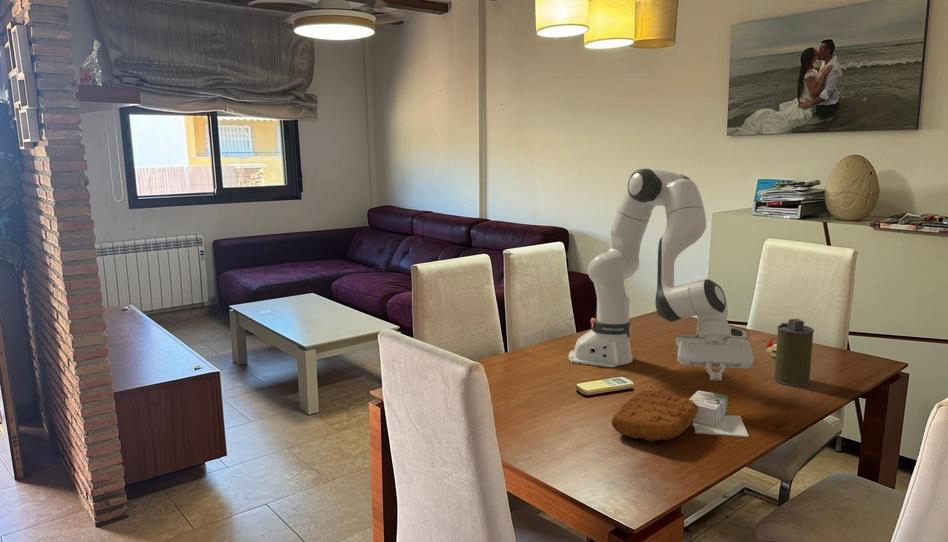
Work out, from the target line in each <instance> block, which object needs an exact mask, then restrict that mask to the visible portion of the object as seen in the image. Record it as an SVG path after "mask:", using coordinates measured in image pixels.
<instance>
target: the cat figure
mask: <svg viewBox="0 0 948 542" xmlns="http://www.w3.org/2000/svg"><path fill="white" fill-rule="evenodd" d="M775 339H776V340H777V337H775V338H771V340H769V341H768V343H767V344H766V349H765V352H767V353H770V354H769V355H770V356H771V357H773V358H776V349H777V343H775V344H773V342H775V341H774V340H775Z"/></svg>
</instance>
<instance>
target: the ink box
mask: <svg viewBox="0 0 948 542" xmlns="http://www.w3.org/2000/svg"><path fill="white" fill-rule="evenodd" d="M688 399H689V400H691V401H693V402H694V403H695V404H696V405H697V406H698V410H697V411H698V412H697V414H696V416H695V418H694V420H693V422H697V423H702V424H706V425H710V426H716V425H717V424H718V422H719V421H720V420H721V419H722V417H723V416H724V415H727V413H728V411H729V410H728V408H729V396H728V395H724V394H719V393H714V392H709V391H704V390H703V391H702V390H697V391H696V392H695V393H694V394H693V395H692V396H690V398H688ZM693 422H692V423H693Z"/></svg>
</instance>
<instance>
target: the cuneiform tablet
mask: <svg viewBox="0 0 948 542" xmlns="http://www.w3.org/2000/svg"><path fill="white" fill-rule="evenodd" d="M689 399H690V398H687V397H684V396H679V395H677V394H673V393H669V392H663V391H659V390H654V389H649V390H643V391H639V392H638V393H636V394H635V395H633V396H632V397H631V398H630V399H629V400H627V401H626V403H624V404H623V405H622V406H621V407H620V408H619V410H618V411H617V412H616V413H615V414H614V415H613V417H612V419H611V425H612V427H613V429H614V431H616V432H618V433H619V434H620V435H623V436H626V437H629V438H632V439H642V440H645V441H650V442H654V441H660V440H662V441H666V440H672V439H675V438H676V437H678V436H679V435H681V434H682V433H683V432H684V431H685V430H687V428H689V427H690V426H691V425H692V424H693V420H694V418H695V416H696V414H697V412H698V411H697V410H698V406H697V405H696V404H695V403H694V402H693V401H691V400H689Z"/></svg>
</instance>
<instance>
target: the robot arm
mask: <svg viewBox="0 0 948 542" xmlns="http://www.w3.org/2000/svg"><path fill="white" fill-rule="evenodd" d="M703 203H704V202H703V199H702V196H701V193H700V191H699V188H698V185H697V184H696V183H695V182H694V181H693V180H692V179H691V178H689V177H688V176H687V175H683V174H681V173H675V172H673V171H668V170H659V169H658V170H657V169H650V168H641V169H637V170H634V171H633V172H632V173H631V175H630V177H629V179H628V182H627V188H626V190H625V192H624V194H623V196H622V198H621V200H620V202H619V204H618V207H617V210H616V213H615V215H614V218H613V221H612V224H611V226H610V229H609V233H610V237H611V238H610V244H609V245H610V246H609V248H608V250H607V251H606V252H603V253H600V254H598V255H596V256H595V257H594V258H592V260H591V261H590V262H589V264H588V267H587V274H588V277H589V279H590V280H591V281H592V283H593V285H594V289H595V294H596V303H597V304H596V306H597V307H596V308H597V309H596V318H595V317H591V319H590V321H589V322H590V326H591V327H590V330H589V331H587V332H586V333H584V334H582V335H581V336H579V338H577V341H576V343H575V346H574V349H573V350H571V351H569V352H568V358H569V359H568V358H567V359H568V361H569V360H570V361H569V362H571V363H572V362H574V363H573V364H579V363H581V365H588V364H589V366H597V367H606V368H615V367H618V366H622V365H627V364H630V363H632V362H633V360H634V359H633V356H632V351H631V343H630V337H631V325H632V324H631V320H630V304H631V303H630V298H629V296H628V295H627V292H626V288H625V287H626V286H625V280H627V279H629V278H631V277H632V276H634V274H635V273H637V271H638V269H639V267H640V258H639V257H640V251H641V244H642V241H643V237H644V235H645V232H646V229H647V227H648V224H649V221H650V219H651V216H652V213H653V210H654V208H655V207H657V206H659V207H660V206H663V207H664V208H665V215H666V227H665V231H664V233H663V235H662V236H661V237H660V238H659V241H658V247H657V274H656V276H657V278H656V280H657V283H656V293H655V302H654V303H655V309H656V312H657V314H658V316H659V317H661V318H662V319H663V320H666V321H667V322H670V323H673V322H676V321H680V320H683V319H686V318H691V317H692V318H693V317H695V316H696V319H697V322H696V323H697V324H696V334H681V335H678V336H677V337H676V338H675V345H676V347H677V348H678V349H677V350H678V351H677V360H676V361H677V363H678V364H679V365H681V366H696V367H698V366H699V367H705V371H706V372H707V373H708V375H709V380H710V381H722V379H723V373H724V371H725V370H726V368H733V369H734V368H735V369H751V367H752V366H753V365H754V352H753V349H752V345H751V343H750V342H749V340H747V338H748V335H747V332H746V331H745V330H742V329H739V328H737V327H733V326H731V325H729V322H728V320H727V319H728V314H729V313H728V304H727V299H726V295H725V291H724V289H723V288H722V287H721V286H720V285H719V284H718V283H716V282H714V281H713V280H711V279H708V278H705V279H700V280H696V281H691V282H689V283H684V284H679V285H675V262H676V259H677V258H678V256H679V255H680V254H681V253H683V252H684V251H685V250H686V249H688V248H689V247H691V246H692V245H694V244H695V243H696V242H698V241H699V239H701V237H702V236H703V235H704V233H705V231H706V229H707V218H706V212H705V207H704V204H703ZM712 367H716V368H718V369H719V371H713V369H712Z"/></svg>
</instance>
